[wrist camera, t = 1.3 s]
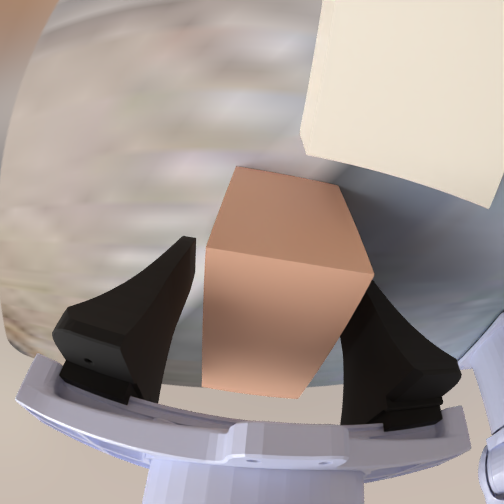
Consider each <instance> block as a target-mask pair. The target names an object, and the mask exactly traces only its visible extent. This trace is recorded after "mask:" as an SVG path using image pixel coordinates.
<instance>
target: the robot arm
mask: <svg viewBox="0 0 504 504" xmlns="http://www.w3.org/2000/svg"><path fill="white" fill-rule="evenodd" d="M195 256H196V238H192V237H186V236H183V237H181V238H180V239H179V240H178V241H177V242H176V243H175V244H174V245H172V246H171V247H170V248H169V249H168V250H167V251H166V252H165V253H164V254H162V255H161V256H160V257H159V258H158V259H157V260H155V261H154V262H153V263H152V264H150V265H149V266H148V267H147V268H145V269H144V270H143V271H141V272H140V273H139V274H137V275H136V276H134V277H133V278H131V279H130V280H128V281H126V282H125V283H123V284H121V285H119V286H118V287H116V288H114V289H112V290H110V291H108V292H106V293H104V294H102V295H100V296H97V297H95V298H93V299H90V300H88V301H85V302H82V303H79V304H76V305H73V306H70V307H68V308H67V309H66V310H65V312H64V313H63V315H62V317H61V318H60V320H59V322H58V323H57V325H56V327H55V329H54V331H53V332H52V336H53V340H54V342H55V344H56V345H57V347H58V349H59V350H60V352H61V353H62V355H63V356H64V358H65V359H66V361H65V363H64V365H63V366H62V365H61V364H60V363H58V362H57V361H55V360H52V359H50V358H48V357H46V356H44V355H41V354H39V353H38V354H37V355H36V356H35V358H34V361H33V362H32V364H31V366H30V368H29V370H28V372H27V374H26V376H25V378H24V380H23V382H22V385H21V387H20V389H19V391H18V393H17V396H16V398H15V400H16V401H17V402H18V403H19V404H20V405H21V406H22V407H24V408H25V409H26V410H27V411H29V412H30V413H31V414H32V415H33V416H35V417H36V418H37V419H39V420H40V421H41V422H42V423H44V424H46V425H48V426H50V427H52V428H53V429H55V430H57V431H59V432H61V433H63V434H65V435H67V436H69V437H71V438H73V439H75V440H77V441H79V442H81V443H84V444H86V445H88V446H90V447H92V448H95V449H97V450H99V451H101V452H104V453H106V454H109V455H111V456H114V457H116V458H119V459H121V460H124V461H127V462H130V463H133V464H136V465H138V466H142V467H145V468H148V469H149V473H148V478H147V482H146V487H145V492H144V496H143V502H142V504H364V483H368V482H374V481H379V480H384V479H388V478H393V477H397V476H401V475H405V474H409V473H413V472H417V471H421V470H424V469H428V468H431V467H434V466H438V465H440V464H442V463H445V462H447V461H449V460H450V459H453V458H455V457H457V456H459V455H461V454H463V453H465V452H467V451H469V450H470V449H471V443H470V439H469V434H468V429H467V425H466V420H465V416H464V411H463V408H462V406H456V407H451V408H446V409H444V410H441V409H440V405H442V404H443V400H442V396H443V395H444V394H446V393H447V392H448V391H449V390H451V389H452V388H453V387H454V386H455V385H456V384H457V383H458V382H459V380H460V378H461V375H462V374H461V371H460V370H462V369H471V368H473V371H474V374H475V376H476V380H477V383H478V386H479V389H480V392H481V395H482V399H483V402H484V406H485V409H486V413H487V417H488V421H489V425H490V430H491V434H492V436H491V437H489V438H487V439H486V442H487V445H486V446H485V448H484V450H483V452H482V455H481V458H480V461H479V468H478V477H479V483H480V487H481V489H482V491H483V493H484V496H485V499H486V504H504V312H503V313H501V314H500V315H499V316H498V318H497V319H496V320H495V321H494V323H493V324H492V325H491V326H490V327H489V329H488V330H487V331H486V332H485V333H484V334H483V335H482V337H481V338H480V339H479V340H478V341H477V342H476V343H475V344H474V345H473V346H472V348H471V349H470V350H469V351H468V352H467V353H466V354H465V355H464V356H463V357H462V358H461V359H460V360H459V361H458V362H457V360H456V359H455V358H454V357H452V356H450V355H449V354H447V353H446V352H444V351H442V350H441V349H440V348H438V347H437V346H435V345H434V344H433V343H431V342H430V341H429V340H428V339H426V338H425V337H424V336H423V335H422V334H421V333H419V332H418V331H417V330H416V329H415V328H414V327H413V326H412V325H411V324H410V323H409V322H408V321H407V320H406V319H405V318H404V317H403V316H402V315H401V314H400V313H399V312H398V311H397V310H396V308H395V307H394V306H393V305H392V304H391V303H390V301H389V300H388V299H387V298H386V296H385V295H384V294H383V293H382V291H381V290H380V289H379V288H378V286H377V285H376V284H375V282H374V281H373V280H372V281H371V282H370V284H369V286H368V288H367V290H366V292H365V294H364V295H363V297H362V299H361V301H360V303H359V305H358V306H357V308H356V310H355V312H354V313H353V315H352V317H351V319H350V320H349V322H348V324H347V325H346V327H345V329H344V330H343V332H342V334H341V335H340V338H341V344H342V351H343V365H344V387H343V388H344V389H343V405H342V416H341V424H340V425H333V424H299V423H297V424H296V423H282V422H269V421H248V420H240V419H232V418H225V417H219V416H213V415H207V414H202V413H196V412H192V411H187V410H182V409H178V408H173V407H169V406H165V405H161V404H158V401H159V394H160V389H161V384H162V379H163V374H164V369H165V365H166V361H167V356H168V352H169V348H170V344H171V340H172V336H173V333H174V330H175V327H176V325H177V322H178V320H179V317H180V315H181V312H182V310H183V307H184V305H185V302H186V300H187V297H188V295H189V292H190V289H191V286H192V282H193V278H194V274H195Z"/></svg>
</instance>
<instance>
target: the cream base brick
mask: <svg viewBox="0 0 504 504" xmlns="http://www.w3.org/2000/svg"><path fill="white" fill-rule="evenodd" d="M300 136H301V139H302V142H303V145H304V148H305V152H306V155H309V156H314V157H319V158H324V159H329V160H333V161H338V162H342V163H346V164H351V165H355V166H359V167H363V168H367V169H370V170H374V171H378V172H382V173H385V174H389V175H392V176H396V177H399V178H403V179H406V180H409V181H413V182H416V183H419V184H422V185H425V186H428V187H431V188H434V189H437V190H440V191H443V192H446V193H448V194H451V195H454V196H457V197H459V198H462V199H465V200H467V201H470V202H472V203H475V204H477V205H480V206H482V207H485V208H487V209H489V208H490V205H491V203H492V201H493V198H494V196H495V194H496V191H497V189H498V186H499V184H500V181H501V179H502V176H503V173H504V0H323V2H322V8H321V15H320V21H319V27H318V33H317V39H316V45H315V51H314V57H313V63H312V68H311V74H310V79H309V85H308V91H307V96H306V101H305V107H304V112H303V117H302V123H301V128H300Z"/></svg>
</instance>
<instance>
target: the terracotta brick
mask: <svg viewBox="0 0 504 504" xmlns="http://www.w3.org/2000/svg"><path fill="white" fill-rule="evenodd" d="M373 277H374V272H373V269H372V266H371V264H370V261H369V258H368V256H367V253H366V250H365V248H364V245H363V243H362V240H361V238H360V235H359V233H358V230H357V228H356V225H355V223H354V221H353V218H352V216H351V214H350V211H349V209H348V207H347V204H346V202H345V200H344V198H343V195H342V193H341V191H340V189H339V187H338V185H334V184H329V183H325V182H320V181H315V180H310V179H306V178H301V177H295V176H290V175H285V174H279V173H274V172H268V171H262V170H256V169H250V168H244V167H237V166H236V168H235V171H234V173H233V176H232V178H231V181H230V184H229V186H228V189H227V191H226V194H225V197H224V199H223V202H222V205H221V207H220V210H219V213H218V215H217V218H216V221H215V223H214V226H213V229H212V232H211V234H210V237H209V240H208V243H207V246H206V255H205V275H204V300H203V337H202V387H206V388H212V389H218V390H224V391H230V392H237V393H244V394H252V395H260V396H269V397H279V398H291V399H298V398H299V397H300V395H301V394H302V392H303V391H304V390H305V388H306V387H307V386H308V384H309V383H310V381H311V380H312V378H313V377H314V375H315V374H316V373H317V371H318V370H319V368H320V367H321V365H322V364H323V362H324V361H325V359H326V357H327V356H328V354H329V353H330V351H331V350H332V348H333V347H334V345H335V343H336V342H337V340H338V339H339V337H340V335H341V334H342V332H343V330H344V329H345V327H346V325H347V324H348V322H349V320H350V319H351V317H352V315H353V313H354V312H355V310H356V308H357V306H358V305H359V303H360V301H361V299H362V297H363V295H364V294H365V292H366V290H367V288H368V286H369V284H370V282H371V281H372V279H373Z"/></svg>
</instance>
